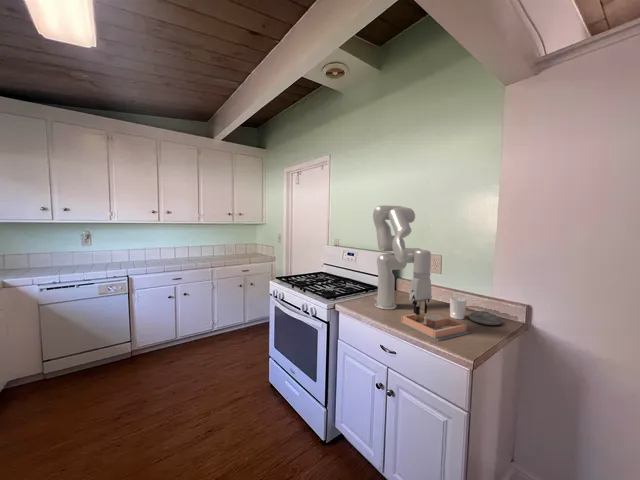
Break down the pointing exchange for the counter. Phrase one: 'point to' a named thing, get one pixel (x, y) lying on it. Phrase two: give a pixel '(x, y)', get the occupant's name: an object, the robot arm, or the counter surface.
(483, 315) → the flying saucer
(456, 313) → the white cup
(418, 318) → the peg
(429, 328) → the track
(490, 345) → the counter surface
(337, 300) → the counter surface
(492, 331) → the counter surface
